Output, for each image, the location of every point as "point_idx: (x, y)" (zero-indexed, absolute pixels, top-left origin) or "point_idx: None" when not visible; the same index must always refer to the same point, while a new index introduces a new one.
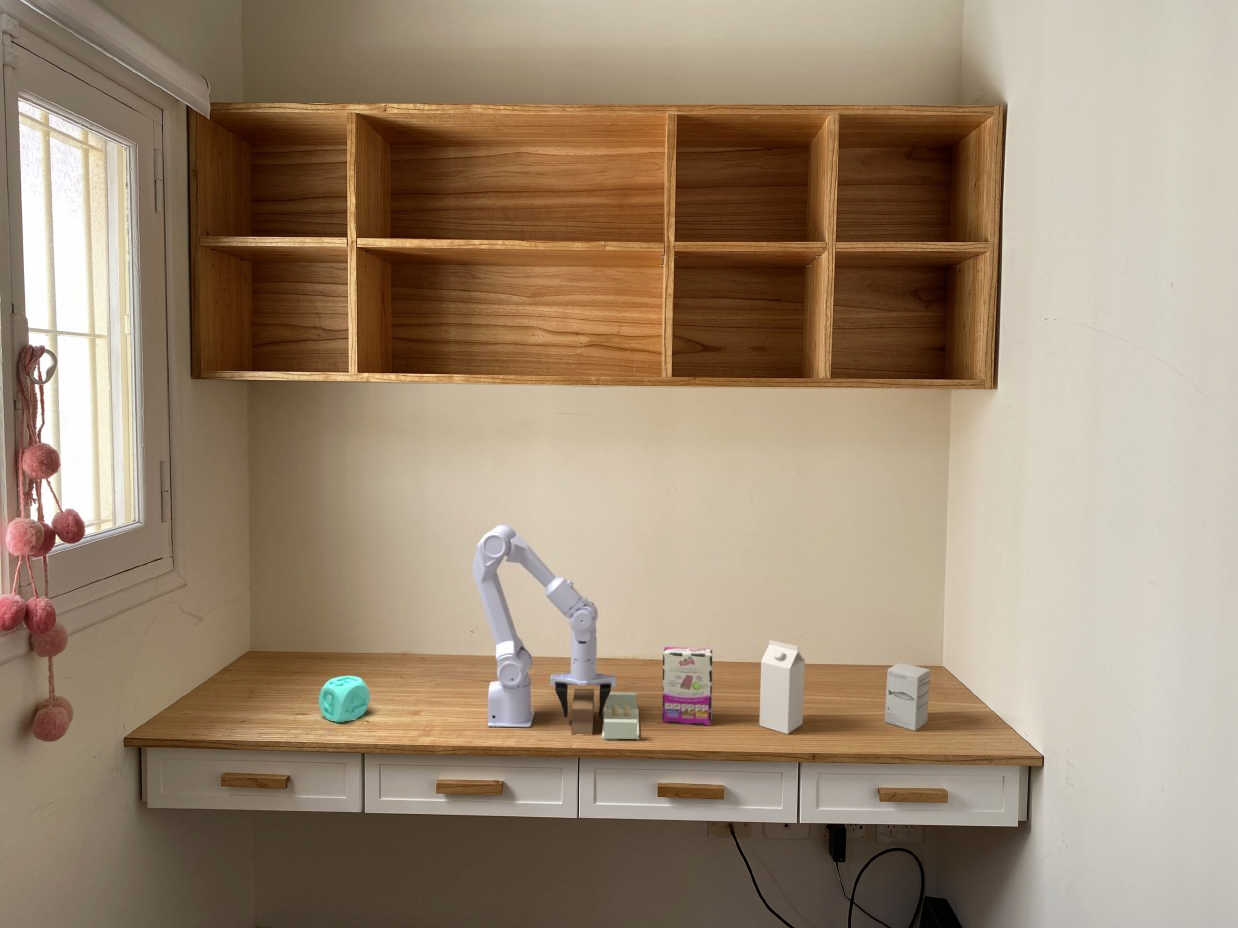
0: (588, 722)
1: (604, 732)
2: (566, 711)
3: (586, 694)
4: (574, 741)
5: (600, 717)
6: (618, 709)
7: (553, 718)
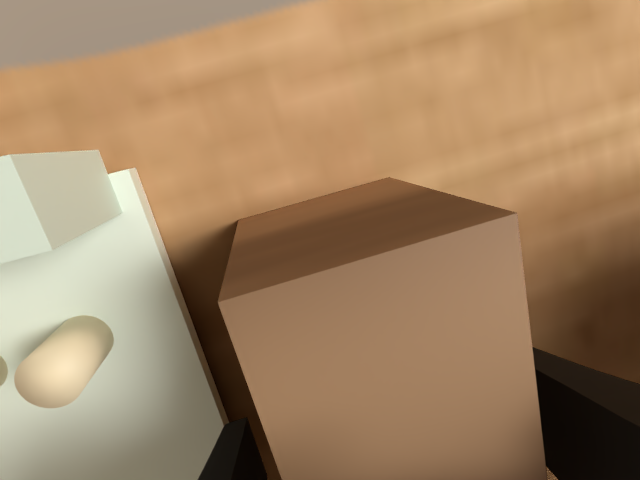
0: (270, 233)
1: (74, 153)
2: None
3: None
4: (334, 62)
5: (230, 425)
6: None
7: None
